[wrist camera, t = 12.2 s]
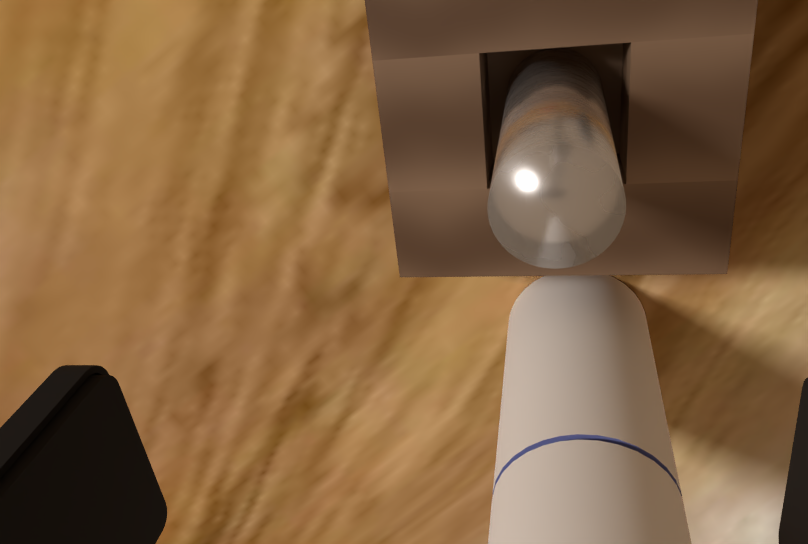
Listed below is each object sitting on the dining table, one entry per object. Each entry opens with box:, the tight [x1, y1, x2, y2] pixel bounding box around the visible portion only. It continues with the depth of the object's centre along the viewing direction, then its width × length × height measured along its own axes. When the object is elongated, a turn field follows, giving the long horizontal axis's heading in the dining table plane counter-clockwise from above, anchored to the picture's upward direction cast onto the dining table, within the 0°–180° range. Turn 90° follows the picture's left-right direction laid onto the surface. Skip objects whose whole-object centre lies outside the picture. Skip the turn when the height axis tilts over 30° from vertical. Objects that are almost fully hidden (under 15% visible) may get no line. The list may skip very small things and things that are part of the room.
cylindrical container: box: [488, 275, 691, 544], centre depth 29 cm, size 7×7×25 cm
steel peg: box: [487, 47, 626, 269], centre depth 27 cm, size 4×4×12 cm
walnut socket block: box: [365, 0, 758, 277], centre depth 31 cm, size 14×14×5 cm
